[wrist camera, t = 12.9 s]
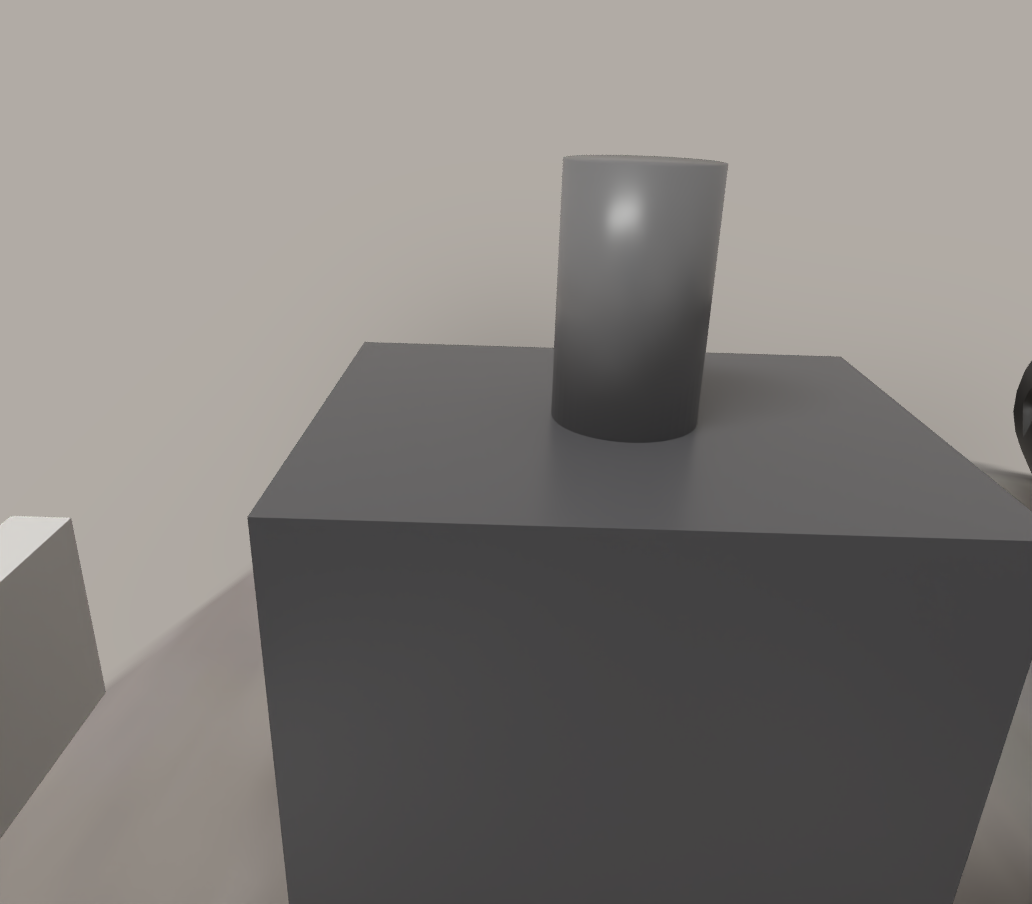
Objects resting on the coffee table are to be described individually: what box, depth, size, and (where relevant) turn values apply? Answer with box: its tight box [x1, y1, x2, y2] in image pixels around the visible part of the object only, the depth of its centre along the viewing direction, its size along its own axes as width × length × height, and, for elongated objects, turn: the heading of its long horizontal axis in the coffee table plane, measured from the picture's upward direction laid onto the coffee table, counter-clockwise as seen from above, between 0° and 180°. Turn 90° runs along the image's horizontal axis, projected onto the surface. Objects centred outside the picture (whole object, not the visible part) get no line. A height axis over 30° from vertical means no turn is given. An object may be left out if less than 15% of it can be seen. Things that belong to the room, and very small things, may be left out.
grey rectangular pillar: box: [248, 155, 1032, 904], centre depth 9 cm, size 5×4×15 cm
